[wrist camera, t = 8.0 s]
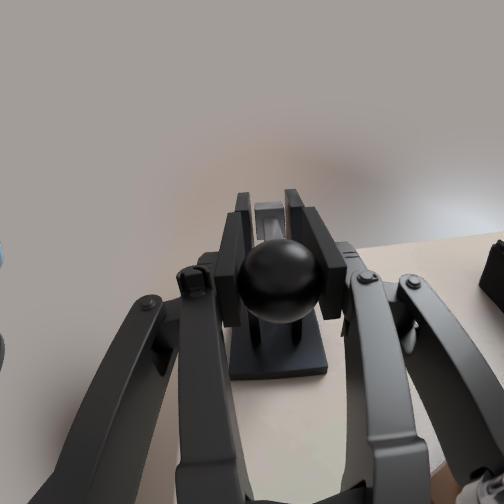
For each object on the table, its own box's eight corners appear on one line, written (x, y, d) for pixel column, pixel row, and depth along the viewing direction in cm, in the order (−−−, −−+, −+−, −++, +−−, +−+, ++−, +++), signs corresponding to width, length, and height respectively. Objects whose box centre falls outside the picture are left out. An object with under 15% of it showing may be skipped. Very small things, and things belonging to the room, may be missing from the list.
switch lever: (329, 337, 10) (333, 253, 9) (239, 343, 10) (228, 260, 9) (290, 234, 24) (288, 193, 22) (249, 237, 24) (246, 196, 22)
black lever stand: (326, 373, 23) (348, 226, 15) (230, 381, 23) (196, 237, 16) (308, 295, 33) (310, 177, 26) (236, 300, 34) (219, 183, 26)
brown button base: (454, 551, 3) (484, 547, 1) (408, 491, 11) (432, 479, 9) (532, 456, 6) (558, 436, 4) (492, 408, 14) (513, 384, 12)
